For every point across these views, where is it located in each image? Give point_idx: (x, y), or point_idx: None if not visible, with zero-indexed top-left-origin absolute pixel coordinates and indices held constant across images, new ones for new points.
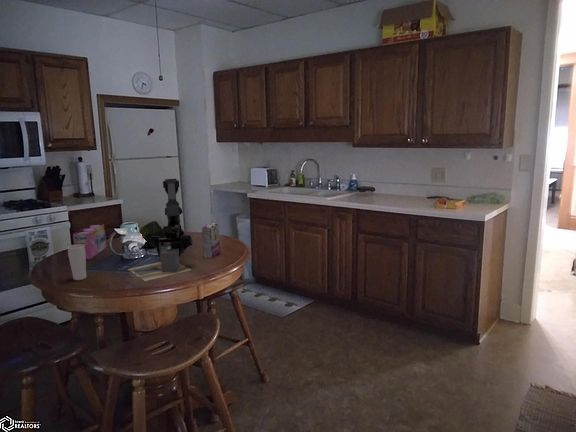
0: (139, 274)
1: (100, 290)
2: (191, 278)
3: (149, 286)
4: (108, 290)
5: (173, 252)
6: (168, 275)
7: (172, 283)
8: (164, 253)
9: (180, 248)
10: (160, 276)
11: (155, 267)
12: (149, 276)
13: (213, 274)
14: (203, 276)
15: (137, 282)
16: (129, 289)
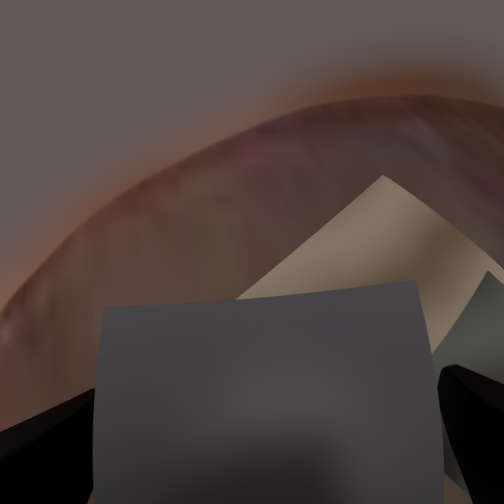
0: (498, 285)
1: (495, 117)
2: (99, 252)
3: (319, 135)
4: (469, 113)
5: (134, 326)
6: (259, 280)
7: (200, 174)
8: (327, 293)
9: (9, 444)
10: (319, 256)
11: (461, 477)
12: (408, 252)
13: (5, 312)
14: (43, 284)
15: (426, 179)
16: (395, 112)
